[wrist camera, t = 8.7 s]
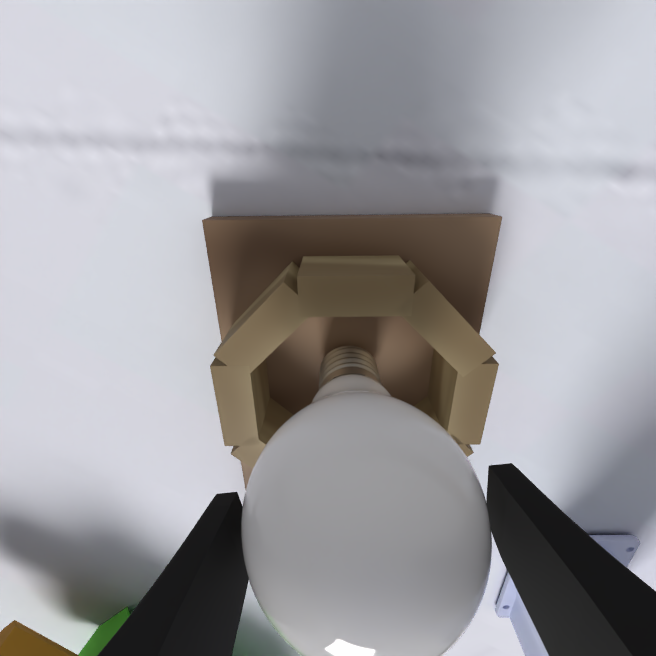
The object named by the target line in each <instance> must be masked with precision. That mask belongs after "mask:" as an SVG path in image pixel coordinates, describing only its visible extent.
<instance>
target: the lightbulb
mask: <svg viewBox="0 0 656 656" xmlns="http://www.w3.org/2000/svg"><path fill="white" fill-rule="evenodd" d="M241 539H242V550H243V557H244V562H245V567H246V571H247V575H248V578H249V581H250V584H251V587H252V590H253V592H254V595H255V597H256V599H257V601H258V603H259V605H260V607H261V609H262V611H263V613H264V614H265V616H266V617H267V619H268V621H269V622H270V623H271V625H272V626H273V628H274V629H275V630H276V631H277V633H278V634H279V635H280V636H281V637H282V638H283V640H284V641H285V642H286V643H287V644H288V645H289V646H290V647H291V648H293V649H294V650H295V651H296V652H297V653H299V654H300V655H301V656H443V655H444V654H445V653H446V652H447V651H448V650H450V649H451V648H452V647H453V646H454V645H455V644H456V642H457V641H458V640H459V639H460V638H461V637H462V635H463V634H464V633H465V631H466V630H467V628H468V627H469V625H470V624H471V622H472V620H473V618H474V616H475V614H476V613H477V610H478V608H479V606H480V604H481V601H482V598H483V595H484V593H485V589H486V586H487V582H488V577H489V572H490V565H491V553H492V538H491V526H490V518H489V513H488V508H487V504H486V500H485V496H484V493H483V490H482V487H481V485H480V482H479V480H478V477H477V475H476V473H475V471H474V469H473V467H472V465H471V463H470V461H469V460H468V458H467V456H466V455H465V453H464V452H463V450H462V449H461V448H460V446H459V445H458V444H457V442H456V441H455V440H454V439H453V437H452V436H451V435H450V434H449V433H448V432H447V431H446V430H445V429H444V428H443V427H442V426H441V425H440V424H439V423H437V422H436V421H435V420H434V419H433V418H431V417H430V416H429V415H427V414H426V413H424V412H423V411H421V410H420V409H418V408H416V407H414V406H412V405H411V404H409V403H406V402H404V401H402V400H400V399H397V398H394V397H392V396H391V395H390V393H389V392H388V391H387V390H386V389H385V388H384V387H383V386H382V385H381V381H380V376H379V372H378V368H377V364H376V361H375V359H374V358H373V356H372V355H371V354H370V353H369V352H368V351H366V350H365V349H363V348H360V347H357V346H341V347H338V348H336V349H334V350H332V351H330V352H329V353H328V354H327V355H326V356H325V357H324V359H323V360H322V362H321V365H320V373H319V391H318V392H317V393H316V395H315V396H314V398H313V400H312V402H311V404H309V405H308V406H306V407H304V408H303V409H301V410H300V411H298V412H297V413H295V414H294V415H293V416H292V417H290V418H289V419H288V420H287V421H286V422H285V423H284V424H283V425H282V426H281V427H280V428H279V429H278V430H277V431H276V432H275V433H274V435H273V436H272V437H271V438H270V440H269V441H268V442H267V444H266V445H265V447H264V448H263V450H262V452H261V454H260V455H259V457H258V459H257V461H256V463H255V465H254V468H253V470H252V473H251V475H250V478H249V481H248V485H247V488H246V492H245V496H244V502H243V508H242V518H241Z"/></svg>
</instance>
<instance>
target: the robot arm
mask: <svg viewBox="0 0 656 656" xmlns="http://www.w3.org/2000/svg"><path fill="white" fill-rule="evenodd" d="M486 504H487V508H488V513H489V518H490V526H491V532H492V534H493V537H494V540H495V542H496V545H497V548H498V550H499V553H500V555H501V558H502V560H503V562H504V564H505V566H506V568H507V570H508V573H507V576H506V579H505V582H504V585H503V588H502V591H501V593H500V596H499V599H498V602H497V605H496V608H495V612H496V614H497V616H498V617H510V620H511V622H512V625H513V627H514V629H515V632H516V634H517V637H518V639H519V642H520V644H521V647H522V649H523V652H524V654H525V656H656V591H655V590H653V589H652V588H651V587H650V586H648V585H647V584H646V583H645V582H643V581H642V580H641V579H640V578H639V577H637V576H636V575H635V574H634V573H633V572H631V571H630V570H629V569H628V568H626V567H627V565H628V564H629V562H630V560H631V559H632V557H633V555H634V553H635V552H636V550H637V548H638V547H639V545H640V541H639V540H638V539H637V537H636V536H634V535H588V534H587V533H586V532H585V531H584V530H583V529H581V528H580V527H579V526H578V525H577V524H576V523H575V522H574V521H572V520H571V519H570V518H569V517H568V516H567V515H566V514H565V513H564V512H563V511H562V510H560V509H559V508H558V507H557V506H556V505H555V504H554V503H553V502H552V501H551V500H550V499H549V498H548V497H547V496H546V495H544V494H543V493H542V492H541V491H540V490H539V489H538V488H537V487H536V486H535V485H534V484H533V483H532V482H531V481H530V480H529V479H528V478H527V477H526V476H525V475H524V474H523V473H522V472H521V471H520V470H519V469H518V468H516V467H515V466H514V465H513V464H512V463H510V464H501V465H491V466H489V471H488V487H487V503H486ZM242 508H243V507H242V504H241V501H240V499H239V496H238V493H237V492H231V493H222V494H217V495H216V496H215V497H214V498H213V500H212V501H211V503H210V504H209V506H208V507H207V509H206V510H205V512H204V513H203V515H202V516H201V517H200V519H199V520H198V522H197V523H196V525H195V526H194V528H193V529H192V531H191V532H190V534H189V535H188V537H187V538H186V540H185V541H184V542H183V544H182V545H181V547H180V548H179V550H178V551H177V552H176V554H175V555H174V557H173V558H172V559H171V561H170V562H169V564H168V565H167V566H166V568H165V569H164V571H163V572H162V573H161V575H160V576H159V578H158V579H157V580H156V582H155V583H154V584H153V586H152V587H151V588H150V590H149V591H148V592H147V594H146V595H145V596H144V597H143V599H142V600H141V601H140V603H139V604H138V605H137V607H136V608H135V609H134V611H133V612H132V613H131V615H130V616H129V617H128V618H127V620H126V621H125V622H124V623H123V625H122V626H121V627H120V628H119V630H118V631H117V632H116V633H115V635H114V636H113V637H112V638H111V640H110V641H109V642H108V643H107V644H106V646H105V647H104V648H103V649H102V650H101V652H100V653H99V654H98V655H97V656H232V651H233V647H234V642H235V638H236V634H237V629H238V625H239V621H240V616H241V612H242V607H243V603H244V598H245V594H246V589H247V585H248V580H249V578H248V575H247V571H246V567H245V562H244V557H243V550H242V539H241V518H242Z"/></svg>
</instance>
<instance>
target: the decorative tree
mask: <svg viewBox="0 0 656 656" xmlns="http://www.w3.org/2000/svg"><path fill="white" fill-rule="evenodd" d="M130 615H131V614H130V612H129V609H128V607H126V608H125V609H123V610H122V611H120V612H119V613H118V614H116V615H115V616H113V617H112V618H110V619H109V620H107V621H106V622H105V623H103V624H102V625H100V626H99V627H98V629H97V630H96V631H95V633H94V634H93V635H92V637H91V638H90V640H89V641H88V642H87V644H86V645H85V646H84V648H83V649H82V650H81V652H80V653H79V655H77V654H75V653H73V652H71V651H70V650H68V649H66V648H64V647H62V646H61V645H59V644H57V643H55V642H53V641H52V640H50V639H48V638H46V637H44V636H42V635H41V634H39V633H37V632H35V631H33V630H32V629H30V628H28V627H26V626H24V625H23V624H21V623H19V622H17V621H15V620H14V621H13V622H11V623H10V624H9V625H8V626H6V627H5V628H4V629H3V630H2V631H1V632H0V656H97V655H98V654H99V653H100V652H101V650H102V649H103V648H104V647H105V646H106V644H107V643H108V642H109V641H110V640H111V638H112V637H113V636H114V635H115V633H116V632H117V631H118V630H119V628H120V627H121V626H122V625H123V623H124V622H125V621H126V620H127V618H128V617H129V616H130Z"/></svg>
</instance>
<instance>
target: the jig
mask: <svg viewBox="0 0 656 656" xmlns="http://www.w3.org/2000/svg"><path fill="white" fill-rule="evenodd" d="M501 220H502V217H501V216H497V215H493V214H403V215H316V216H228V217H209V218H207V219H204V220H202V222H203V228H204V235H205V241H206V247H207V253H208V260H209V266H210V272H211V278H212V284H213V291H214V297H215V303H216V309H217V315H218V322H219V328H220V334H221V340H222V343H221V344H220V346H219V347H218V349H217V350H216V352H215V353H214V356H215V357H216V358H215V359H214V361H213V362H212V364H211V366H210V368H211V374H212V379H213V384H214V390H215V395H216V401H217V406H218V412H219V417H220V423H221V428H222V434H223V439H224V444H225V446H233V449H232V452H231V455H233V456H234V457H236V458H237V459H239V460H240V461H241V465H242V471H243V477H244V483H245V489H246V488H247V485H248V481H249V478H250V475H251V473H252V470H253V468H254V465H255V463H256V461H257V459H258V457H259V455H260V454H261V452H262V450H263V448H264V447H265V445H266V444H267V442H268V441H269V440H270V438H271V437H272V436H273V435H274V433H275V432H276V431H277V430H278V429H279V428H280V427H281V426H282V425H283V424H284V423H285V422H286V421H287V420H288V419H289V418H290V417H292V416H293V415H294V414H295V413H297V412H298V411H300V410H301V409H303V408H304V407H306V406H308V405H309V404H311V402H312V400H313V398H314V396H315V395H316V393H317V392H318V391H319V373H320V365H321V362H322V360H323V359H324V357H325V356H326V355H327V354H328V353H329V352H330V351H332V350H334V349H336V348H338V347H341V346H357V347H360V348H363V349H365V350H366V351H368V352H369V353H370V354H371V355H372V356H373V358H374V359H375V361H376V364H377V368H378V372H379V376H380V381H381V385H382V386H383V387H384V388H385V389H386V390H387V391H388V392H389V393H390V395H391V396H392V397H394V398H397V399H400V400H402V401H404V402H406V403H409V404H411V405H412V406H414V407H416V408H418V409H420V410H421V411H423V412H424V413H426V414H427V415H429V416H430V417H431V418H433V419H434V420H435V421H436V422H437V423H439V424H440V425H441V426H442V427H443V428H444V429H445V430H446V431H447V432H448V433H449V434H450V435H451V436H452V437H453V439H454V440H455V441H456V442H457V444H458V445H459V446H460V448H461V449H462V450H463V452H464V453H465V455H466V456H467V457H468V456H469V455H471V454H472V453H474V452H473V451H472V449H471V447H470V445H469V444H480V443H481V438H482V434H483V430H484V425H485V421H486V417H487V413H488V408H489V404H490V400H491V395H492V391H493V387H494V382H495V378H496V374H497V370H498V365H499V364H498V362H497V361H496V360H495V359H494V358H493V357H492V356H493V355H494V354H495V353H496V352H495V351H494V350H493V349H492V348H491V347H490V346H489V345H488V344H487V343H486V342H485V341H484V339H483V338H482V337H481V336H480V335H479V332H480V327H481V322H482V317H483V312H484V307H485V302H486V297H487V292H488V287H489V281H490V276H491V271H492V266H493V261H494V256H495V251H496V246H497V241H498V236H499V230H500V225H501Z"/></svg>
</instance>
